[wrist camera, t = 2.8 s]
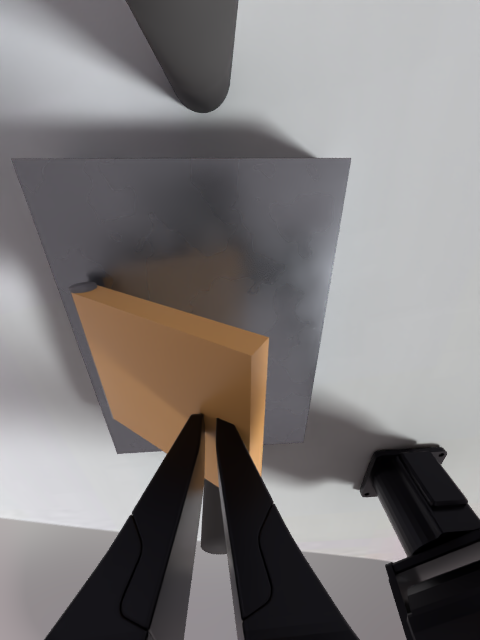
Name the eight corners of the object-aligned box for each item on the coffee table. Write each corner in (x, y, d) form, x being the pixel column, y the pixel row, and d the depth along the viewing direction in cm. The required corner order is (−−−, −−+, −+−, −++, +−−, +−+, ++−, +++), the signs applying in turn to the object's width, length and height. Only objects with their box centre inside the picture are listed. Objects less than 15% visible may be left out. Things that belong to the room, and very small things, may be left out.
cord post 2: (236, 446, 22) (243, 552, 16) (207, 448, 22) (202, 555, 15) (236, 426, 21) (242, 532, 14) (205, 428, 20) (199, 536, 14)
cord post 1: (230, 113, 11) (243, 36, 5) (174, 112, 11) (116, 33, 5) (229, 34, 10) (244, -187, 4) (166, 33, 10) (79, -198, 4)
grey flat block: (292, 407, 20) (303, 442, 17) (129, 416, 19) (115, 453, 17) (323, 162, 12) (351, 157, 10) (54, 162, 12) (6, 158, 9)
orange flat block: (87, 280, 11) (63, 287, 10) (269, 334, 7) (251, 352, 6) (124, 403, 15) (107, 415, 14) (260, 485, 11) (248, 508, 10)
